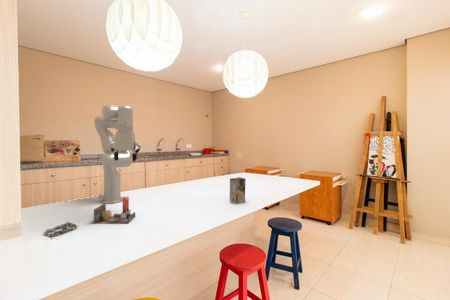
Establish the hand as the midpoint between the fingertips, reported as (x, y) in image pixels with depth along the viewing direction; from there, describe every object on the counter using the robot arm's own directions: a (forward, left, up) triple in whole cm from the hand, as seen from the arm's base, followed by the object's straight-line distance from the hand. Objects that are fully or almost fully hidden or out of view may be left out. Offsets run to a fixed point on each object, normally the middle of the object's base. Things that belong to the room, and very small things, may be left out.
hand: (125, 160), depth 117 cm
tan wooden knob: (-4, -13, -28) cm, 31 cm away
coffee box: (+65, +23, -30) cm, 75 cm away
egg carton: (-17, -26, -30) cm, 43 cm away
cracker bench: (0, -13, -30) cm, 32 cm away
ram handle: (+5, -13, -28) cm, 31 cm away
